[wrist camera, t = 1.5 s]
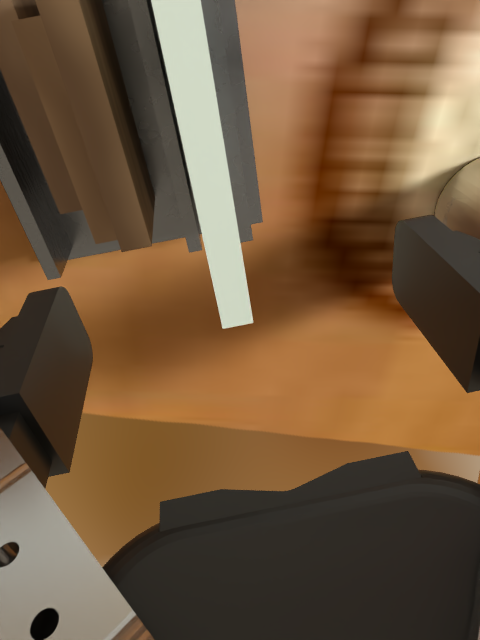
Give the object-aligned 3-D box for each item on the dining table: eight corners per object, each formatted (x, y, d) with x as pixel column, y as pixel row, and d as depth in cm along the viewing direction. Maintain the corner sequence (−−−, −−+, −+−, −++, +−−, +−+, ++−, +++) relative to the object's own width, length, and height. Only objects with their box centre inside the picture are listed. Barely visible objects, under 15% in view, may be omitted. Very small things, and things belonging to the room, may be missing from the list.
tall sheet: (176, -50, 28) (184, -100, 13) (220, 196, 37) (253, 322, 23) (151, -46, 28) (131, -90, 13) (202, 199, 37) (222, 328, 23)
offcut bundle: (97, -15, 28) (73, -18, 21) (155, 196, 37) (151, 246, 29) (4, 2, 28) (-53, 5, 21) (82, 210, 37) (61, 263, 29)
